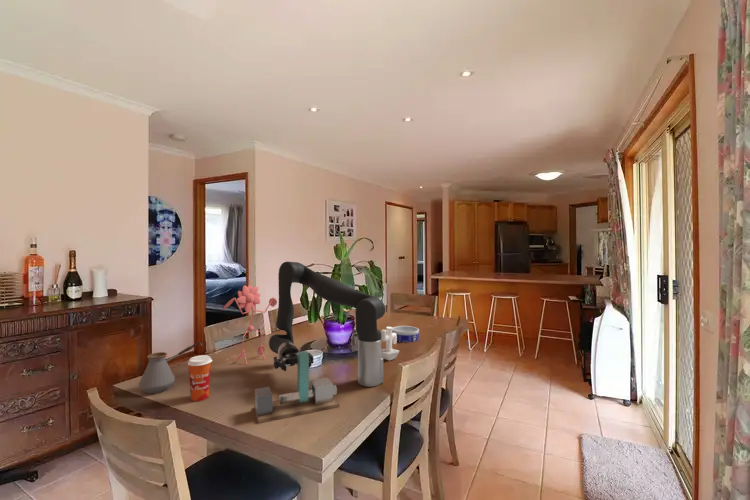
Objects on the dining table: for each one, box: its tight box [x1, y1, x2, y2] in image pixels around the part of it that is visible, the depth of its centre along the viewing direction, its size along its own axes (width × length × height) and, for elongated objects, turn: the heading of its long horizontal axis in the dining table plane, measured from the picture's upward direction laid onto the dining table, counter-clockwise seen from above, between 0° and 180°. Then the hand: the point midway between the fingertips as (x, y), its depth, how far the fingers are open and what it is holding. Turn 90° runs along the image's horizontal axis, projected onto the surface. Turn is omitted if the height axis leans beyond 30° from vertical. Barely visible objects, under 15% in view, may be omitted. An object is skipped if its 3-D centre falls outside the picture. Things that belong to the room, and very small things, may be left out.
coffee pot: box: [138, 341, 203, 394], centre depth 133 cm, size 21×12×15 cm, turn 133°
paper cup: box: [187, 354, 213, 402], centre depth 123 cm, size 8×8×14 cm
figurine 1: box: [221, 284, 278, 365], centre depth 164 cm, size 15×26×35 cm, turn 141°
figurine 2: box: [380, 326, 400, 361], centre depth 165 cm, size 7×9×15 cm
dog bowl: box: [392, 325, 420, 343], centre depth 199 cm, size 15×15×6 cm
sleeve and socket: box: [254, 377, 334, 418], centre depth 116 cm, size 24×7×6 cm, turn 115°
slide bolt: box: [278, 350, 338, 405], centre depth 118 cm, size 19×3×16 cm, turn 115°
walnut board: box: [253, 395, 340, 424], centre depth 116 cm, size 26×11×1 cm, turn 115°
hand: (297, 366), depth 125 cm, fingers open, 8 cm apart
